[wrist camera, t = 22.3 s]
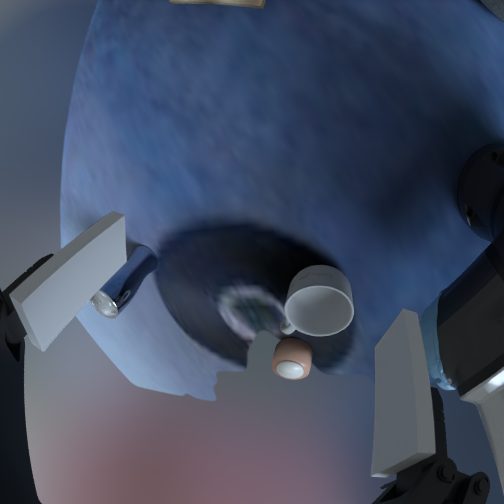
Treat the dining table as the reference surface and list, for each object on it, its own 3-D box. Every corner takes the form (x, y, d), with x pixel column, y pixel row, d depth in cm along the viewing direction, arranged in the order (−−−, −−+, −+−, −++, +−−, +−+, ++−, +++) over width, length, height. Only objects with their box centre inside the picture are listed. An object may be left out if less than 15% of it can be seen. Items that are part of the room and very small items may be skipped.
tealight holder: (318, 344, 58) (315, 365, 54) (305, 365, 63) (301, 385, 58) (281, 333, 59) (276, 354, 54) (271, 355, 63) (266, 374, 59)
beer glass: (128, 241, 57) (82, 284, 45) (156, 245, 55) (111, 292, 43) (135, 269, 61) (95, 314, 48) (162, 274, 59) (123, 323, 47)
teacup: (333, 245, 46) (331, 274, 39) (364, 292, 49) (365, 324, 42) (265, 280, 53) (254, 310, 46) (299, 319, 56) (292, 351, 49)
